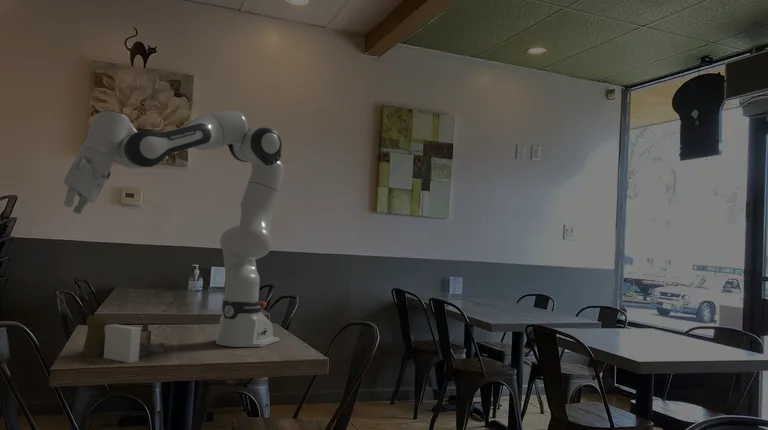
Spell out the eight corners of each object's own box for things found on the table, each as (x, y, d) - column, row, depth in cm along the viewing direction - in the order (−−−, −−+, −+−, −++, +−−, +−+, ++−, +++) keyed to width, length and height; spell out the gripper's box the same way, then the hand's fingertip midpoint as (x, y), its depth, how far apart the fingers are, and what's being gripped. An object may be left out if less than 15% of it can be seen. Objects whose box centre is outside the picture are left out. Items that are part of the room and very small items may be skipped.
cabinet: (128, 345, 176) (130, 321, 177) (163, 351, 170) (165, 326, 171) (94, 351, 166) (96, 325, 166) (130, 358, 159) (132, 330, 160)
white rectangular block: (103, 357, 158) (106, 325, 159) (115, 355, 162) (118, 323, 162) (129, 362, 154) (131, 329, 154) (141, 360, 157) (143, 327, 158)
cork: (96, 357, 158) (99, 317, 158) (76, 355, 159) (80, 315, 159) (110, 353, 163) (113, 315, 164) (92, 351, 165) (95, 313, 165)
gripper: (96, 157, 150) (73, 205, 146) (111, 176, 169) (92, 220, 166) (71, 148, 149) (48, 197, 145) (89, 169, 168) (70, 213, 165)
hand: (72, 209), depth 156 cm, fingers open, 8 cm apart
